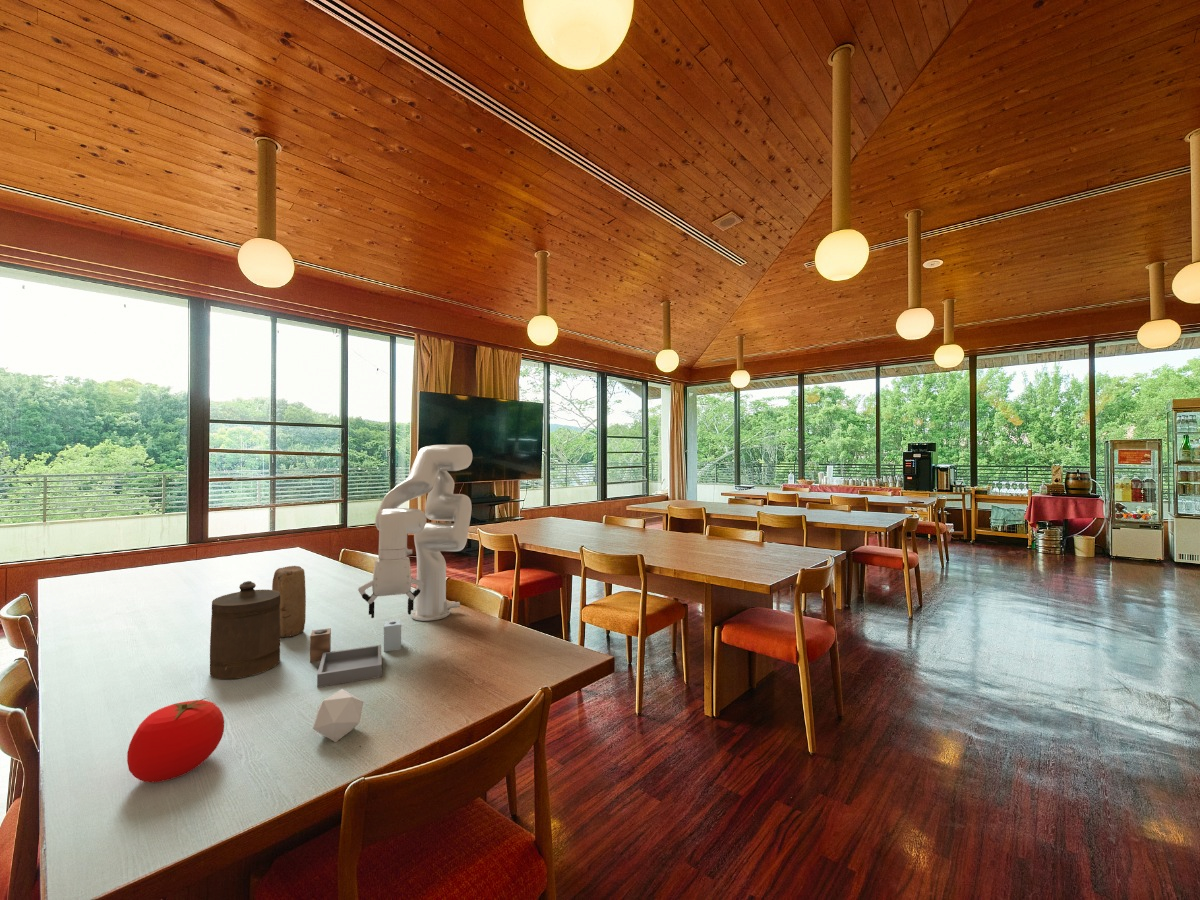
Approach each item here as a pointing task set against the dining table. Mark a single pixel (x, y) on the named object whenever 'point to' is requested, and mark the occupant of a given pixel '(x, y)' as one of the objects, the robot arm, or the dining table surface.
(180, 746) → the tomato
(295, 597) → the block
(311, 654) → the walnut block
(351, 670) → the tray
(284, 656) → the dining table surface
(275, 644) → the wooden container
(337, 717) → the die
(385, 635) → the grey rectangular block
